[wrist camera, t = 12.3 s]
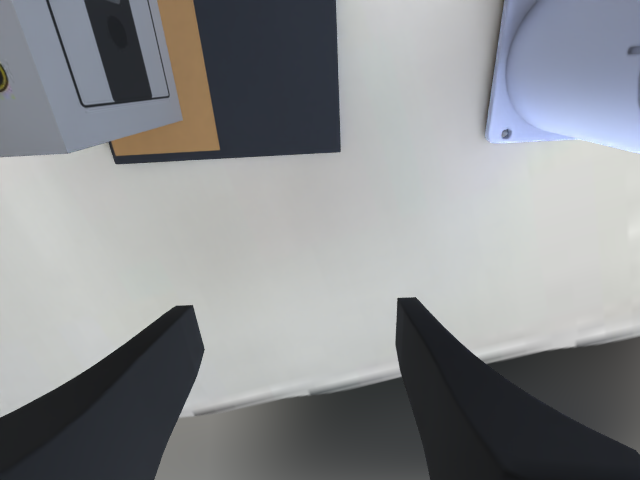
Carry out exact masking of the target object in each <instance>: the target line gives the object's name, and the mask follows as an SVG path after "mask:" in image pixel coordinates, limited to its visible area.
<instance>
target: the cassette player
mask: <svg viewBox="0 0 640 480" xmlns="http://www.w3.org/2000/svg"><path fill="white" fill-rule="evenodd" d="M182 120H183V118H182V113H181V108H180V104H179V99H178V95H177V90H176V85H175V81H174V76H173V72H172V67H171V62H170V58H169V53H168V49H167V44H166V39H165V35H164V30H163V26H162V21H161V16H160V12H159V7H158V2H157V0H0V157H13V156H31V155H49V154H67V153H71V152H75V151H78V150H82V149H85V148H89V147H92V146H96V145H99V144H102V143H106V142H109V141H113V140H116V139H120V138H123V137H127V136H130V135H134V134H137V133H140V132H144V131H147V130H151V129H154V128H158V127H161V126H165V125H168V124H172V123H175V122H178V121H182Z"/></svg>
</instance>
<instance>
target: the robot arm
mask: <svg viewBox="0 0 640 480" xmlns="http://www.w3.org/2000/svg"><path fill="white" fill-rule="evenodd" d="M505 129H508V134H507V136H505V137H502V132H503V131H504V130H505ZM485 138H486V140H487V141H489V142H491V143H495V144H496V143H515V142H533V141H551V140H569V139H581V140H585V141H589V142H593V143H597V144H601V145H605V146H609V147H613V148H617V149H622V150H626V151H630V152H634V153H638V154H640V0H504V7H503V13H502V20H501V27H500V34H499V41H498V48H497V55H496V62H495V69H494V76H493V83H492V90H491V97H490V104H489V111H488V118H487V125H486V132H485ZM204 350H205V349H204V346H203V342H202V338H201V334H200V331H199V327H198V323H197V319H196V315H195V312H194V308H193V305H186V306H175V307H174V308H172V309H171V310H169V311H168V312H166V313H165V314H164V315H162V316H161V317H160V318H158V319H157V320H156V321H154V322H153V323H152V324H150V325H149V326H148V327H147V328H145V329H144V330H143V331H141V332H140V333H139V334H137V335H136V336H135V337H133V338H132V339H131V340H129V341H128V342H127V343H125V344H124V345H122V346H121V347H120V348H118V349H117V350H115V351H114V352H112V353H111V354H110V355H108V356H107V357H105V358H104V359H103V360H101V361H100V362H98V363H97V364H95V365H94V366H92V367H91V368H89V369H88V370H86V371H84V372H83V373H81V374H80V375H78V376H76V377H75V378H73V379H71V380H70V381H68V382H66V383H65V384H63V385H61V386H60V387H58V388H56V389H55V390H53V391H51V392H49V393H47V394H45V395H43V396H41V397H40V398H38V399H36V400H34V401H32V402H30V403H28V404H27V405H25V406H23V407H21V408H19V409H17V410H15V411H13V412H11V413H9V414H7V415H5V416H3V417H1V418H0V480H154V479H155V476H156V473H157V470H158V467H159V464H160V461H161V458H162V455H163V452H164V450H165V447H166V445H167V442H168V440H169V437H170V435H171V433H172V431H173V428H174V426H175V424H176V422H177V420H178V418H179V415H180V413H181V411H182V409H183V406H184V404H185V402H186V400H187V398H188V395H189V393H190V391H191V389H192V386H193V384H194V382H195V379H196V377H197V374H198V371H199V368H200V364H201V361H202V357H203V354H204ZM396 350H397V356H398V361H399V366H400V371H401V375H402V378H403V381H404V385H405V388H406V391H407V394H408V398H409V401H410V404H411V407H412V410H413V414H414V417H415V420H416V423H417V426H418V430H419V433H420V436H421V440H422V444H423V448H424V452H425V457H426V461H427V466H428V471H429V475H430V480H640V455H639V454H638V452H637V451H636V450H634V449H632V448H630V447H628V446H626V445H623V444H621V443H619V442H617V441H615V440H613V439H611V438H609V437H607V436H605V435H603V434H601V433H599V432H596V431H594V430H592V429H590V428H588V427H586V426H584V425H582V424H580V423H579V422H577V421H575V420H573V419H571V418H570V417H568V416H566V415H564V414H562V413H560V412H558V411H557V410H555V409H553V408H551V407H550V406H548V405H546V404H545V403H543V402H541V401H540V400H538V399H536V398H535V397H533V396H531V395H530V394H528V393H527V392H525V391H524V390H522V389H521V388H519V387H517V386H516V385H514V384H513V383H511V382H510V381H508V380H507V379H505V378H504V377H503V376H501V375H500V374H499V373H497V372H496V371H494V370H493V369H492V368H491V367H489V366H488V365H486V364H485V363H484V362H483V361H481V360H480V359H479V358H478V357H476V356H475V355H474V354H473V353H472V352H470V351H469V350H468V349H467V348H466V347H465V346H464V345H462V344H461V343H460V342H459V341H458V340H457V339H456V338H455V337H454V336H453V335H452V334H451V333H450V332H449V331H448V330H447V329H446V328H444V327H443V326H442V325H441V323H440V322H439V321H438V320H437V319H436V318H435V317H434V316H433V315H432V314H431V313H430V312H429V311H428V310H427V309H426V308H425V307H424V306H423V304H422V303H421V302H420V301H419V300H418V299H417V298H416V297H413V298H398V301H397V322H396Z"/></svg>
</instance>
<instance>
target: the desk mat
mask: <svg viewBox="0 0 640 480" xmlns="http://www.w3.org/2000/svg"><path fill="white" fill-rule="evenodd" d="M157 2H158V7H159V12H160V16H161V21H162V26H163V30H164V35H165V39H166V44H167V49H168V53H169V58H170V62H171V67H172V72H173V76H174V81H175V85H176V90H177V95H178V99H179V104H180V108H181V113H182V118H183V120H182V121H178V122H175V123H172V124H168V125H165V126H161V127H158V128H154V129H151V130H147V131H144V132H140V133H137V134H134V135H130V136H127V137H123V138H120V139H116V140H113V141H109V145H110V148H111V152H112V155H113V158H114V161H115V164H130V163H148V162H167V161H185V160H203V159H221V158H240V157H258V156H276V155H295V154H313V153H331V152H340V151H341V149H340V118H339V86H338V55H337V24H336V0H157Z"/></svg>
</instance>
